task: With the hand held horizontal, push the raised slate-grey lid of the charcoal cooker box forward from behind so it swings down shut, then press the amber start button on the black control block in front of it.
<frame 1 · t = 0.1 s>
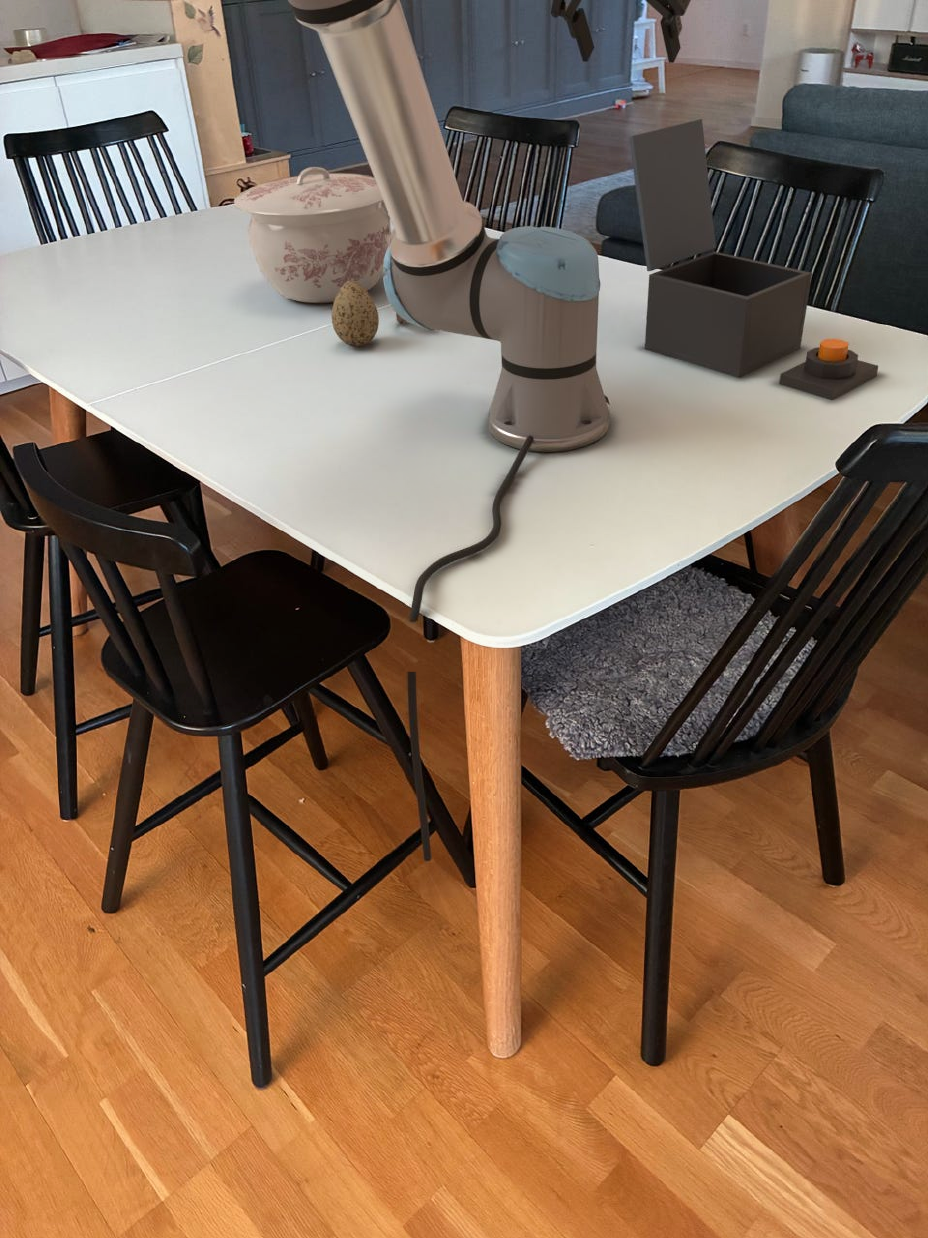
hand: (630, 54, 141), 36 cm above the table, tool tilted 35°, fingers open, 13 cm apart
cooker lid: (674, 194, 138), point 20 cm above the table, hinge at 105.0°
control block: (827, 380, 132), on the table
start button: (833, 350, 130), point 4 cm above the table, slide at 0.1 cm
decorative egg: (358, 346, 152), on the table
brown curved piece: (429, 323, 159), on the table
chamber pot: (329, 292, 174), on the table
cooker: (721, 348, 143), on the table
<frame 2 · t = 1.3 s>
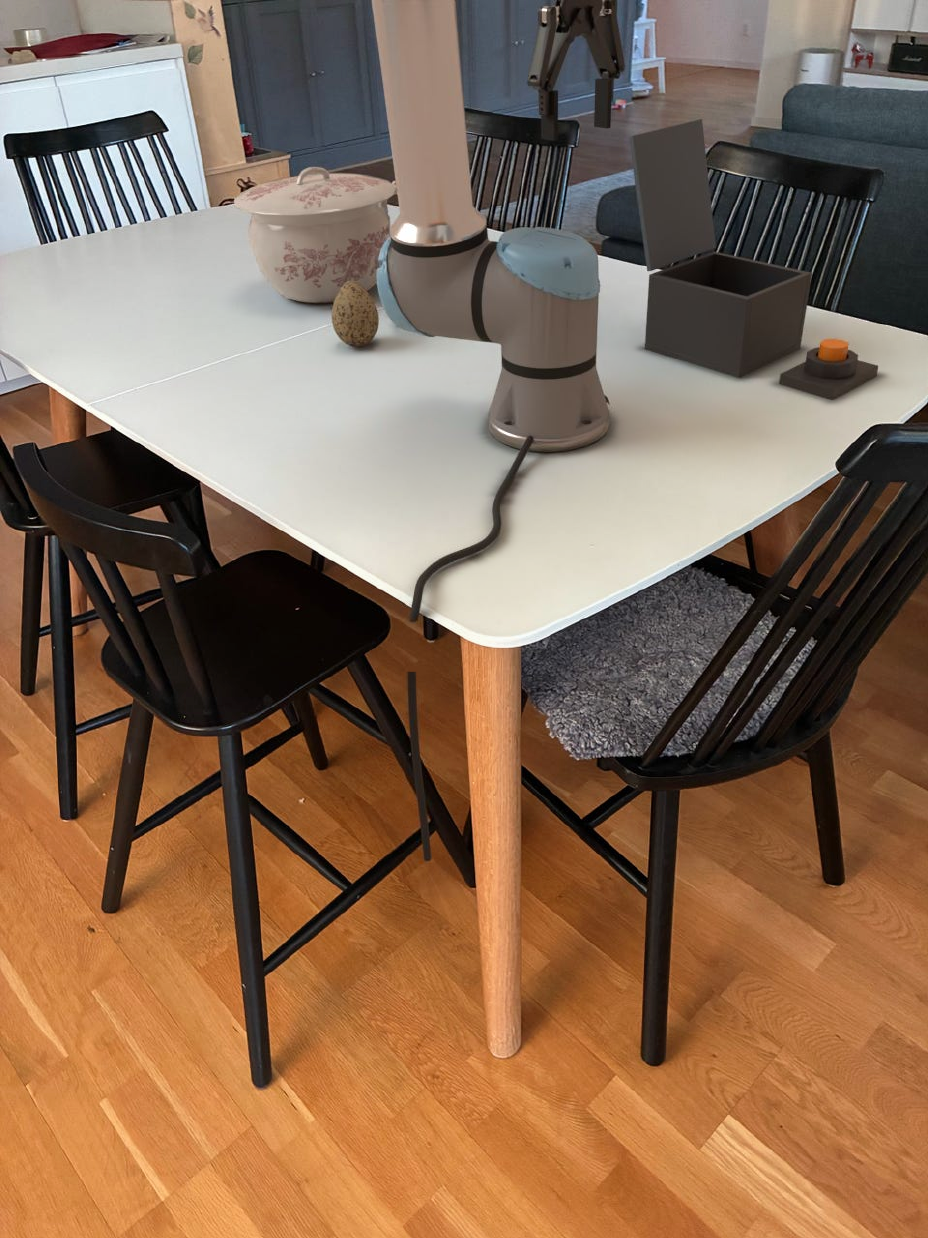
hand: (576, 133, 146), 26 cm above the table, tool pointing down, fingers open, 11 cm apart
nothing on the table moved.
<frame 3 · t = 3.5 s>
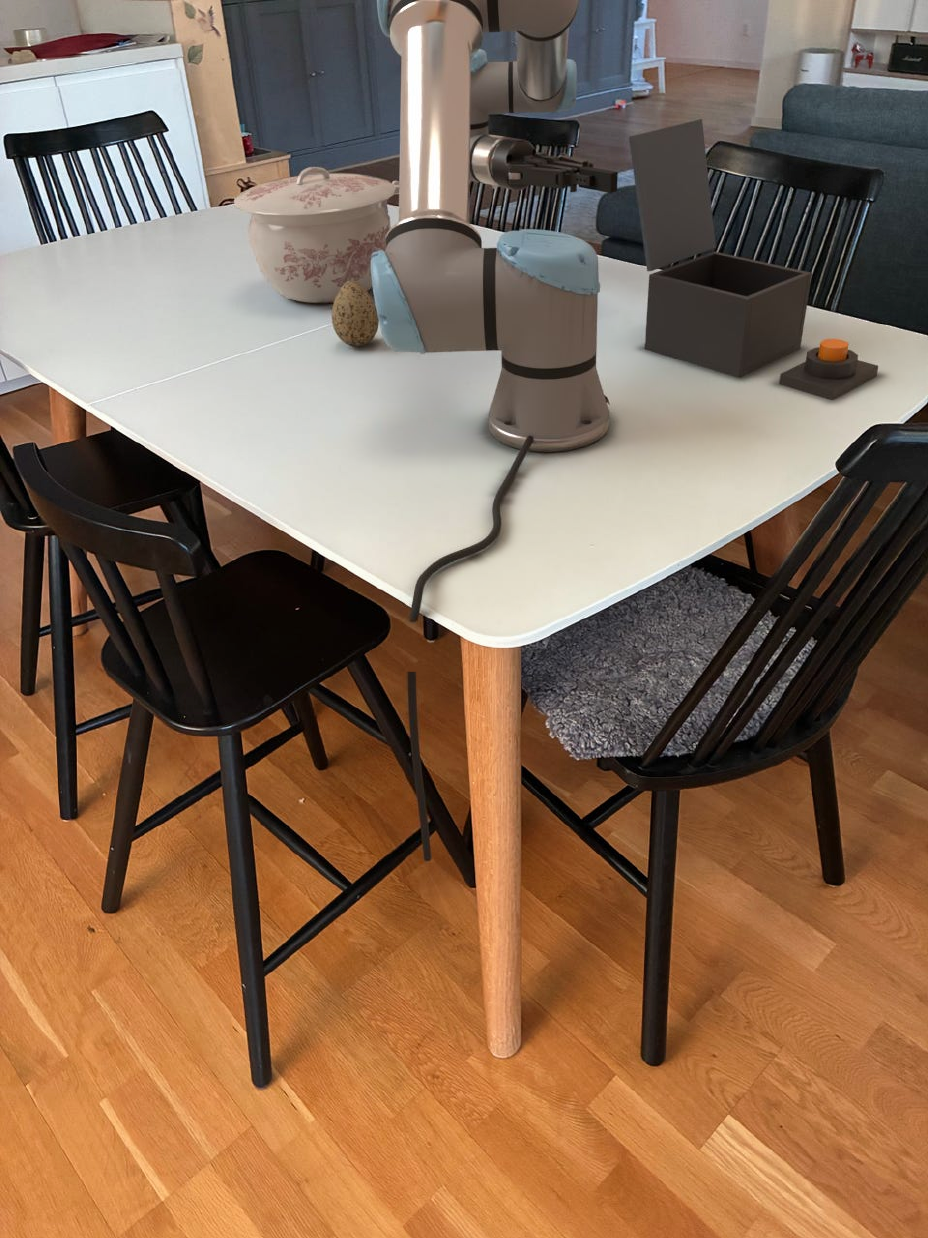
hand: (613, 182, 145), 20 cm above the table, tool horizontal, fingers closed
nothing on the table moved.
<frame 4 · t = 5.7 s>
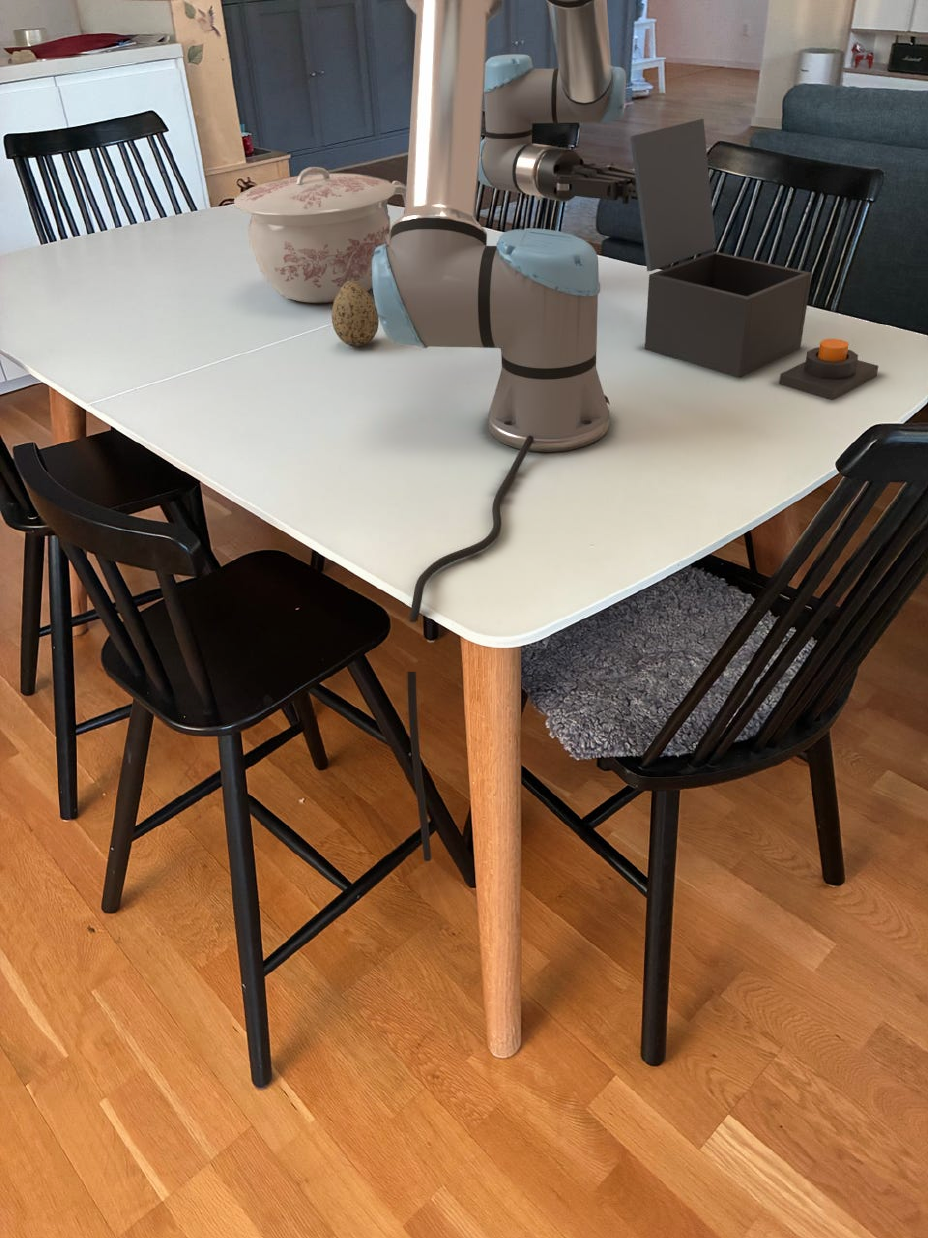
hand: (669, 193, 139), 20 cm above the table, tool horizontal, fingers closed
cooker lid: (675, 194, 138), point 20 cm above the table, hinge at 104.1°, touching gripper
everything else where it was.
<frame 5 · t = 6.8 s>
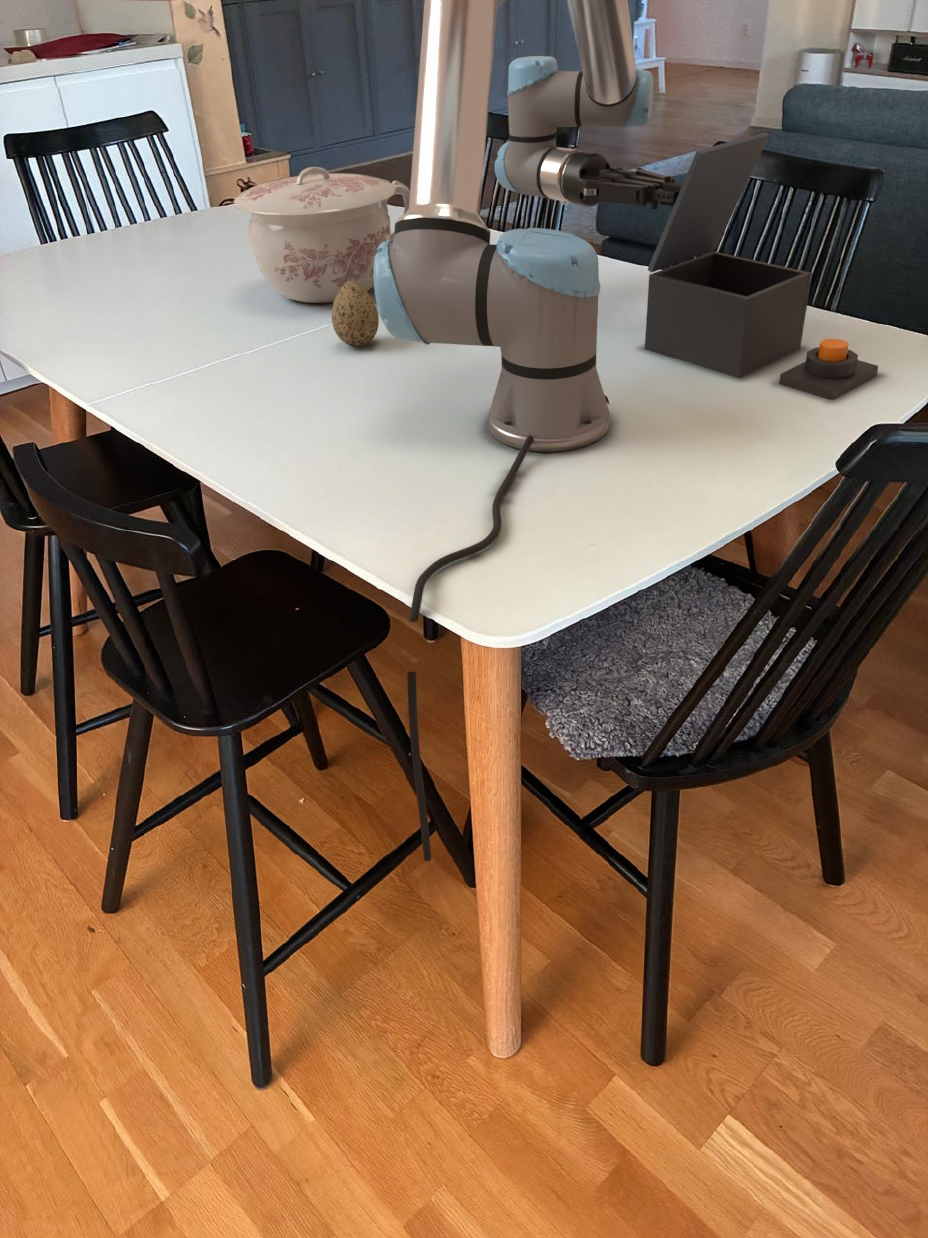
hand: (701, 199, 135), 20 cm above the table, tool horizontal, fingers closed
cooker lid: (706, 203, 135), point 19 cm above the table, hinge at 67.1°
everything else where it was.
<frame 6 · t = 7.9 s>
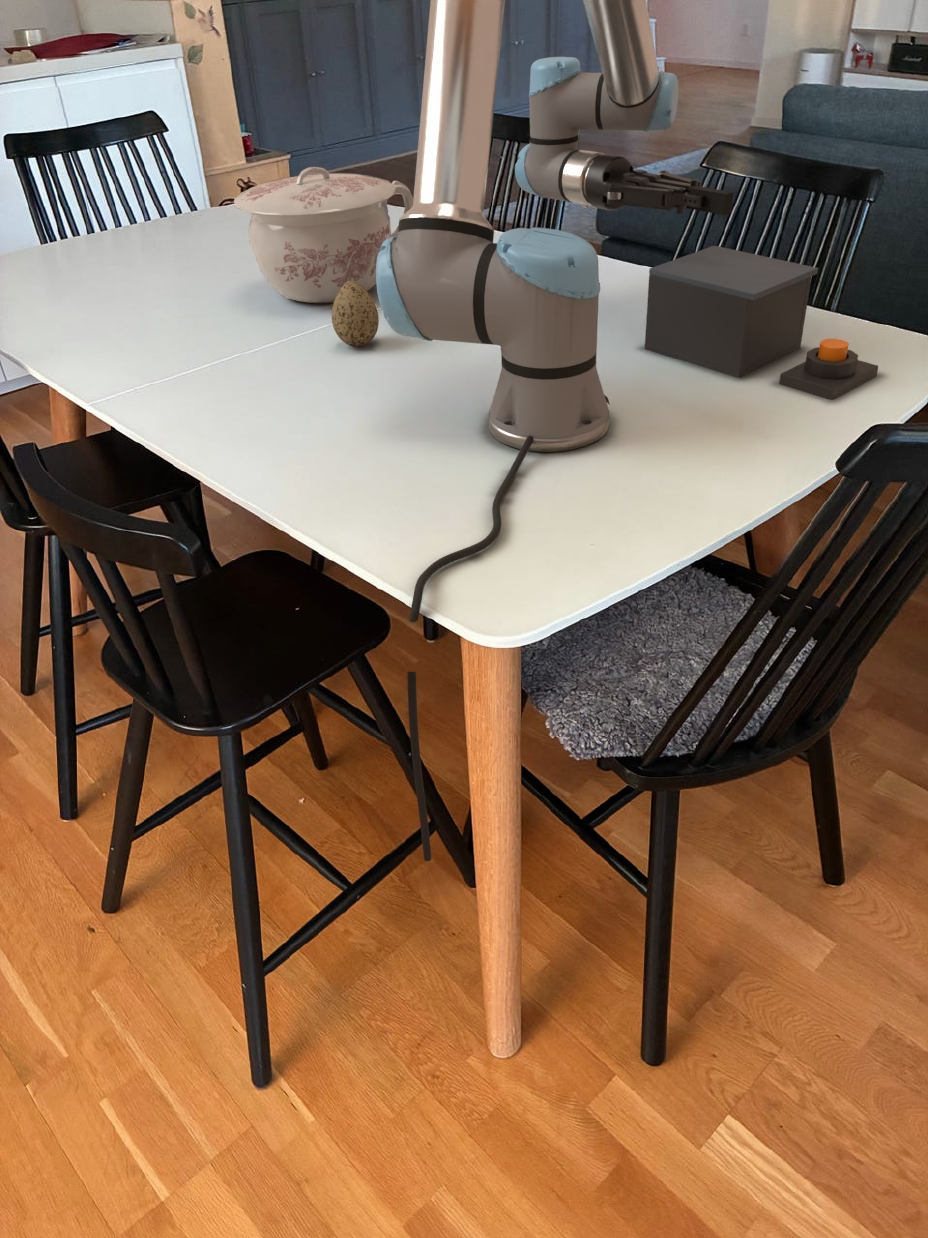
hand: (728, 203, 132), 20 cm above the table, tool horizontal, fingers closed
cooker lid: (732, 270, 136), point 11 cm above the table, hinge at -0.1°
everything else where it was.
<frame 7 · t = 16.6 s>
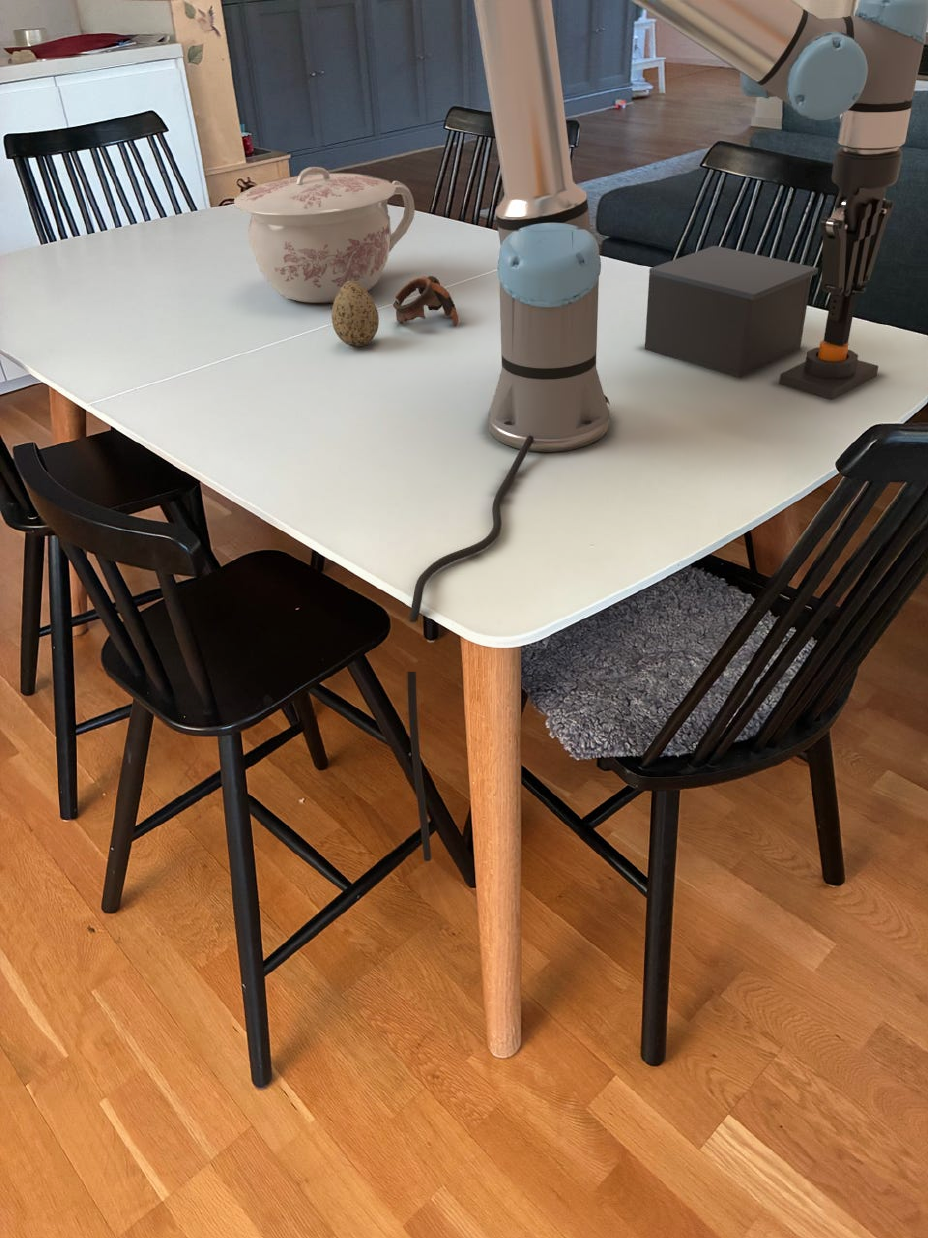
hand: (835, 341, 129), 5 cm above the table, tool pointing down, fingers closed
start button: (833, 350, 130), point 4 cm above the table, slide at 0.1 cm, touching gripper
everything else where it was.
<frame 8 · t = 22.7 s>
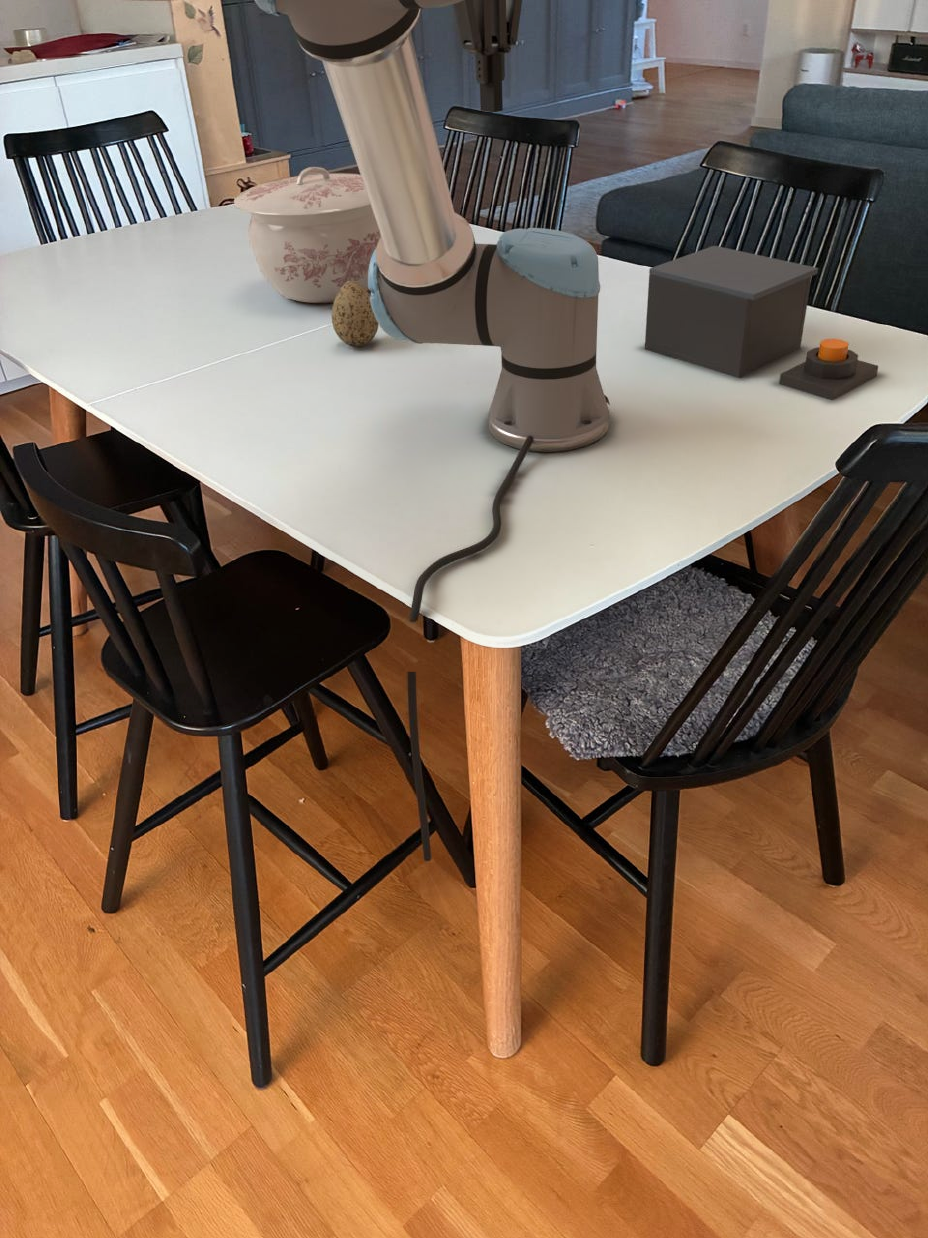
hand: (491, 110, 129), 32 cm above the table, tool pointing down, fingers closed
start button: (833, 350, 130), point 4 cm above the table, slide at 0.1 cm
everything else where it was.
at the end: cooker lid at +0° (first picture: +105°); start button pushed in 0.9 cm at the most during the clip, back to where it started at the end; start button slide at 0.1 cm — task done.
